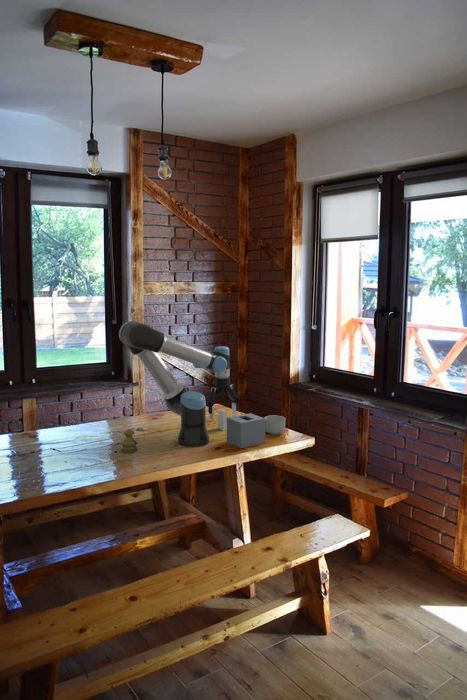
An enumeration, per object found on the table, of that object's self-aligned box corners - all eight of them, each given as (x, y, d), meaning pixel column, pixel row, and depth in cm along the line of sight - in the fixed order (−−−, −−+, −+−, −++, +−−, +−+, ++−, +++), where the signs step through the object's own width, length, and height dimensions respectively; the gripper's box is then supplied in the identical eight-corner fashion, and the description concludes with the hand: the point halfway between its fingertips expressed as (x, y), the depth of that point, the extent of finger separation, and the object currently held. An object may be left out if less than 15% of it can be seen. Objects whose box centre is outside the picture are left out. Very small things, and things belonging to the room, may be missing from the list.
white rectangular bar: (223, 430, 297) (223, 411, 295) (217, 428, 301) (217, 409, 299) (227, 429, 298) (227, 410, 297) (221, 427, 302) (221, 408, 301)
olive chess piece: (119, 449, 266) (119, 428, 264) (135, 447, 268) (135, 426, 267) (122, 454, 259) (121, 432, 257) (139, 452, 261) (138, 431, 260)
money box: (240, 448, 268) (241, 423, 266) (226, 441, 278) (226, 417, 276) (265, 443, 275) (265, 418, 274) (250, 437, 285) (250, 413, 284)
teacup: (285, 430, 297) (285, 415, 296) (285, 436, 286) (285, 420, 285) (258, 429, 298) (258, 414, 297) (257, 435, 287) (257, 420, 286)
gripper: (205, 381, 286) (206, 422, 289) (246, 375, 299) (247, 415, 303) (197, 378, 292) (198, 419, 295) (238, 372, 306) (238, 412, 309)
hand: (223, 417), depth 299 cm, fingers open, 13 cm apart
